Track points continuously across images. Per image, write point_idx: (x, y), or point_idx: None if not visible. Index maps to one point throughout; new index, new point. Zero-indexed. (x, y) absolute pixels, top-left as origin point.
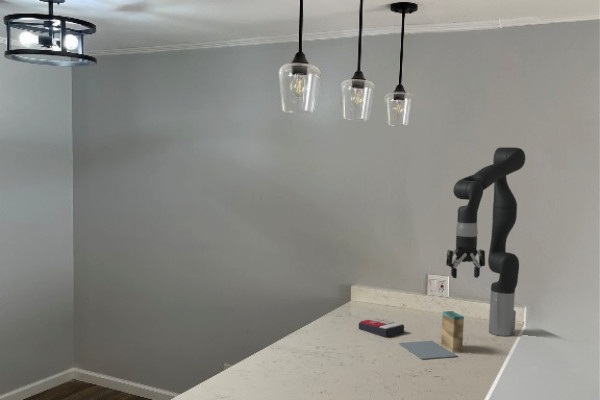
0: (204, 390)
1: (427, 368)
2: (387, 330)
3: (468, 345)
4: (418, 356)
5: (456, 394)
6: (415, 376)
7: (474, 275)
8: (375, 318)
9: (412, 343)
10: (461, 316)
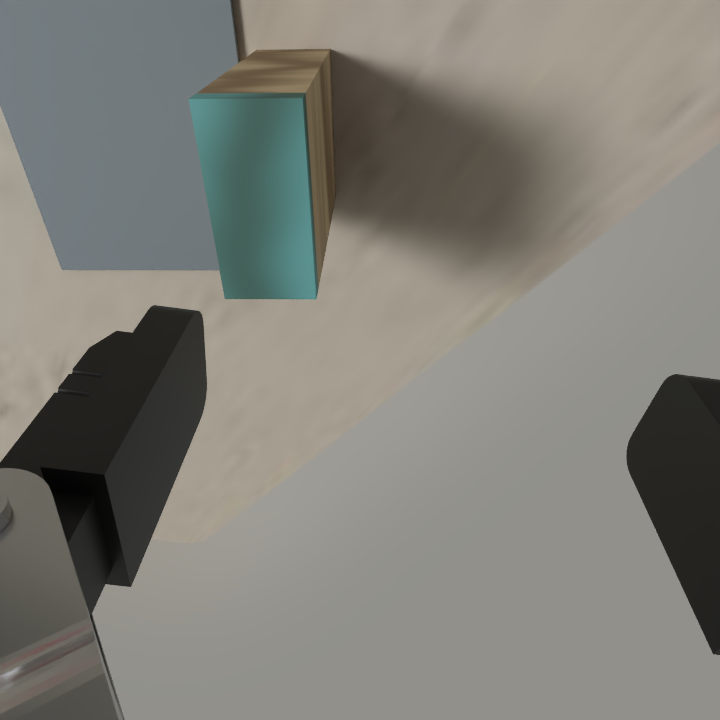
0: None
1: (69, 362)
2: None
3: (448, 86)
4: (49, 233)
5: None
6: (5, 417)
7: (676, 406)
8: None
9: None
10: (296, 293)
